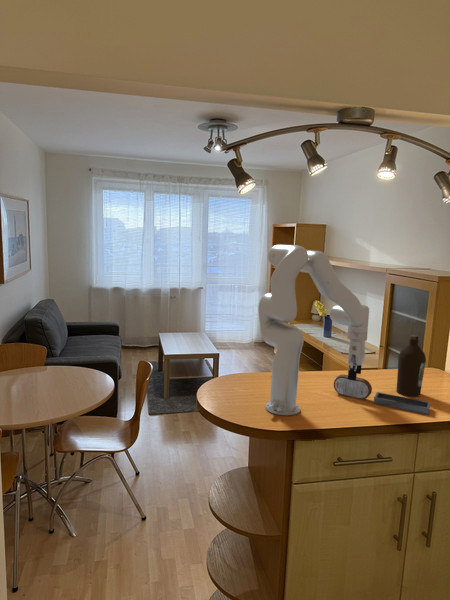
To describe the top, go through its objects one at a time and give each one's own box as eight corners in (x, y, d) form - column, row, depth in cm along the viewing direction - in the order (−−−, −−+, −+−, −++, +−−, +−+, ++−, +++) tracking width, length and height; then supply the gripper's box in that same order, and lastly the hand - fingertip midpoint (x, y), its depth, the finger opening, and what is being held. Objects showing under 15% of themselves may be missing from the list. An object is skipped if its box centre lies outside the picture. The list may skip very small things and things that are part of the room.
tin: (371, 399, 172) (373, 379, 171) (369, 402, 170) (371, 381, 168) (334, 391, 180) (335, 372, 179) (331, 393, 177) (333, 374, 176)
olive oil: (392, 393, 180) (399, 335, 177) (396, 387, 189) (403, 331, 186) (420, 399, 175) (427, 340, 172) (423, 392, 184) (429, 335, 181)
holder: (428, 415, 159) (429, 408, 159) (373, 403, 168) (374, 397, 168) (429, 408, 166) (430, 402, 165) (376, 397, 175) (377, 391, 174)
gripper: (363, 341, 162) (359, 384, 165) (370, 332, 177) (367, 372, 180) (343, 338, 165) (340, 381, 168) (352, 330, 181) (349, 369, 183)
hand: (354, 376), depth 174 cm, fingers open, 9 cm apart
